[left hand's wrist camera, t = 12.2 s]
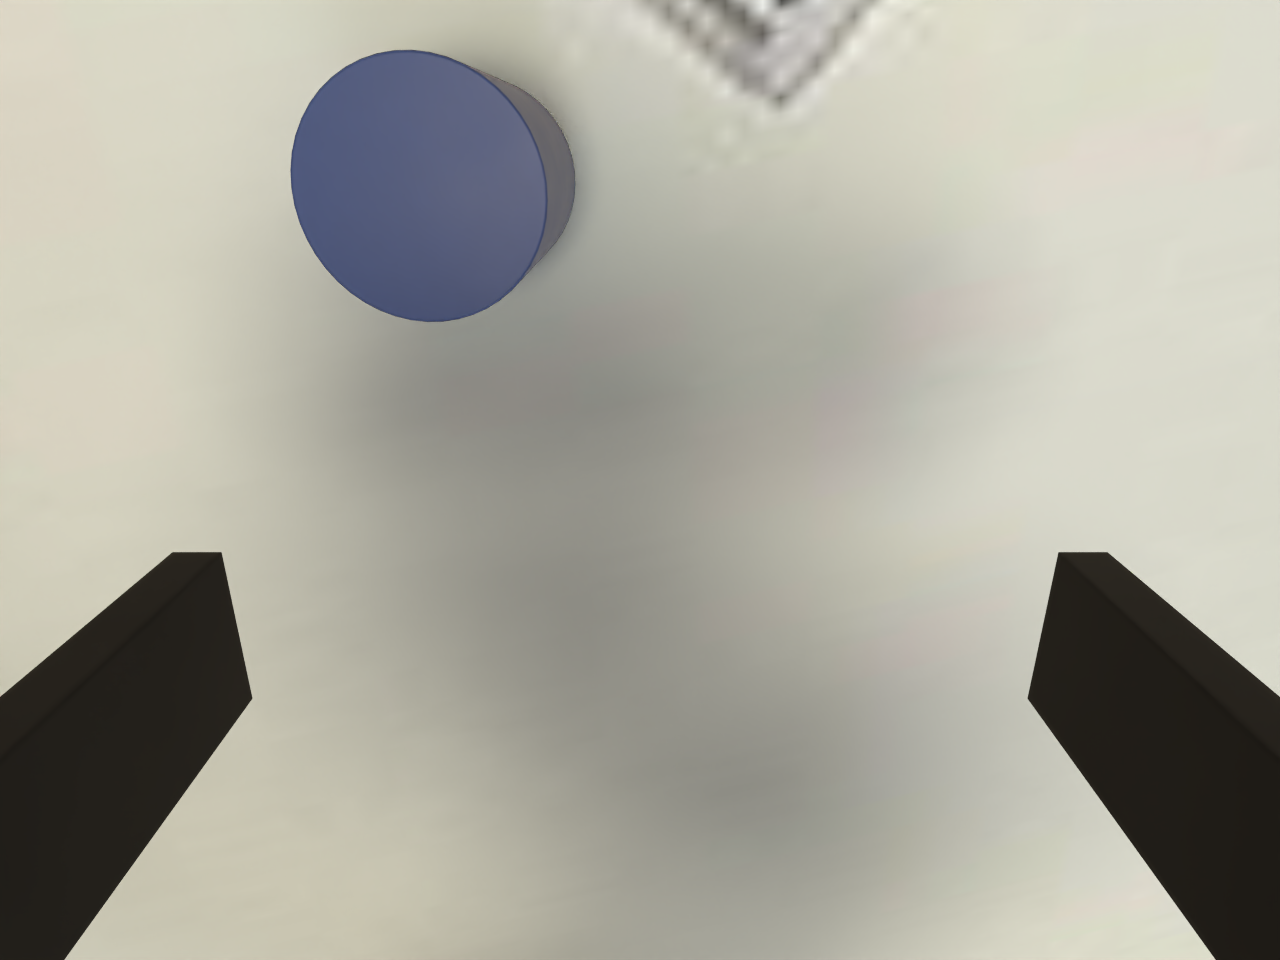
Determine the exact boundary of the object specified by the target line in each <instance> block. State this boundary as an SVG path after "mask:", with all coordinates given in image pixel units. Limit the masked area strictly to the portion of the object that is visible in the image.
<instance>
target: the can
mask: <svg viewBox="0 0 1280 960" xmlns="http://www.w3.org/2000/svg"><path fill="white" fill-rule="evenodd" d="M291 188H292V194H293V199H294V205H295V209H296V212H297V215H298V219H299V222H300V225H301V227H302V229H303V231H304V234H305V236H306V238H307V240H308V242H309V244H310V246H311V247H312V249H313V251H314V253H315V254H316V256H317V257H318V259H319V260H320V261H321V263H322V264H323V265H324V267H325V268H326V269H327V270H328V271H329V273H330V274H331V275H332V276H333V277H334V278H335V279H336V280H337V281H338V282H339V283H340V284H341V285H342V286H343V287H345V288H346V289H347V290H348V291H349V292H350V293H352V294H353V295H355V296H356V297H358V298H359V299H361V300H362V301H363V302H365V303H367V304H369V305H371V306H373V307H374V308H376V309H378V310H380V311H383V312H386V313H388V314H391V315H393V316H397V317H401V318H405V319H409V320H415V321H424V322H443V321H450V320H456V319H461V318H464V317H467V316H471V315H474V314H476V313H478V312H480V311H483V310H485V309H487V308H489V307H490V306H492V305H493V304H495V303H496V302H498V301H500V300H501V299H502V298H503V297H504V296H506V295H507V294H508V293H509V292H510V291H512V290H513V288H514V287H515V286H516V285H517V284H518V283H519V282H520V281H521V280H522V279H523V278H524V277H525V275H526V274H527V273H528V272H529V271H530V270H531V269H532V268H533V267H534V266H535V265H536V264H537V262H538V261H539V260H540V259H541V258H542V257H543V256H544V255H545V254H546V253H547V252H548V250H549V249H550V248H551V247H552V246H553V245H554V244H555V243H556V241H557V240H558V238H559V237H560V235H561V234H562V232H563V230H564V228H565V226H566V224H567V222H568V219H569V216H570V213H571V210H572V206H573V201H574V194H575V171H574V166H573V160H572V156H571V153H570V149H569V146H568V144H567V141H566V139H565V137H564V134H563V133H562V131H561V129H560V127H559V126H558V124H557V122H556V121H555V120H554V118H553V117H552V116H551V114H550V113H549V112H548V111H547V110H546V109H545V108H544V107H543V106H542V105H541V104H540V103H539V102H538V101H537V100H536V99H535V98H533V97H532V96H531V95H529V94H528V93H527V92H525V91H523V90H521V89H520V88H518V87H516V86H514V85H512V84H509V83H507V82H505V81H502V80H500V79H498V78H496V77H493V76H491V75H489V74H486V73H484V72H482V71H479V70H477V69H475V68H472V67H470V66H468V65H466V64H463V63H461V62H458V61H456V60H454V59H451V58H449V57H446V56H443V55H439V54H435V53H431V52H425V51H417V50H393V51H387V52H382V53H376V54H373V55H371V56H368V57H365V58H362V59H359V60H358V61H356V62H354V63H352V64H350V65H348V66H346V67H345V68H343V69H342V70H340V71H339V72H338V73H336V74H335V75H334V76H332V77H331V78H330V79H329V80H328V81H327V82H326V83H325V84H324V85H323V86H322V87H321V88H320V89H319V91H318V92H317V93H316V95H315V96H314V98H313V99H312V100H311V102H310V103H309V105H308V107H307V109H306V111H305V113H304V115H303V116H302V118H301V121H300V124H299V127H298V129H297V132H296V135H295V140H294V145H293V150H292V158H291Z"/></svg>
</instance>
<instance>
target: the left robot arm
mask: <svg viewBox="0 0 1280 960" xmlns="http://www.w3.org/2000/svg"><path fill="white" fill-rule="evenodd" d="M251 700H252V694H251V690H250V685H249V680H248V676H247V671H246V666H245V661H244V657H243V652H242V647H241V642H240V638H239V633H238V628H237V624H236V619H235V614H234V609H233V605H232V600H231V595H230V590H229V586H228V581H227V576H226V572H225V567H224V562H223V557H222V553H221V552H172V553H171V554H170V555H169V556H168V557H166V558H165V559H164V560H163V561H162V562H160V563H159V564H158V565H157V566H156V567H155V568H153V569H152V570H151V571H150V572H149V573H147V574H146V575H145V576H144V577H143V578H141V579H140V580H139V581H138V582H137V583H135V584H134V585H133V586H132V587H131V588H130V589H128V590H127V591H126V592H125V593H124V594H122V595H121V596H120V597H119V598H118V599H116V600H115V601H114V602H113V603H112V604H110V605H109V606H108V607H107V608H106V609H104V610H103V611H102V612H101V613H100V614H99V615H97V616H96V617H95V618H94V619H93V620H91V621H90V622H89V623H88V624H87V625H85V626H84V627H83V628H82V629H81V630H79V631H78V632H77V633H76V634H75V635H73V636H72V637H71V638H70V639H69V640H68V641H66V642H65V643H64V644H63V645H62V646H60V647H59V648H58V649H57V650H56V651H54V652H53V653H52V654H51V655H50V656H48V657H47V658H46V659H45V660H44V661H42V662H41V663H40V664H39V665H38V666H37V667H35V668H34V669H33V670H32V671H31V672H29V673H28V674H27V675H26V676H25V677H23V678H22V679H21V680H20V681H19V682H17V683H16V684H15V685H14V686H13V687H12V688H10V689H9V690H8V691H7V692H6V693H4V694H3V695H2V696H1V697H0V960H64V959H65V958H66V957H67V955H68V954H69V952H70V951H71V950H72V948H73V947H74V945H75V944H76V943H77V941H78V940H79V939H80V937H81V936H82V934H83V933H84V932H85V930H86V929H87V927H88V926H89V925H90V923H91V922H92V920H93V919H94V918H95V916H96V915H97V914H98V912H99V911H100V909H101V908H102V907H103V905H104V904H105V902H106V901H107V900H108V898H109V897H110V895H111V894H112V893H113V891H114V890H115V889H116V887H117V886H118V884H119V883H120V882H121V880H122V879H123V877H124V876H125V875H126V873H127V872H128V870H129V869H130V868H131V866H132V865H133V864H134V862H135V861H136V859H137V858H138V857H139V855H140V854H141V852H142V851H143V850H144V848H145V847H146V845H147V844H148V843H149V841H150V840H151V839H152V837H153V836H154V834H155V833H156V832H157V830H158V829H159V827H160V826H161V825H162V823H163V822H164V820H165V819H166V818H167V816H168V815H169V814H170V812H171V811H172V809H173V808H174V807H175V805H176V804H177V802H178V801H179V800H180V798H181V797H182V795H183V794H184V793H185V791H186V790H187V789H188V787H189V786H190V784H191V783H192V782H193V780H194V779H195V777H196V776H197V775H198V773H199V772H200V770H201V769H202V768H203V766H204V765H205V764H206V762H207V761H208V759H209V758H210V757H211V755H212V754H213V752H214V751H215V750H216V748H217V747H218V746H219V744H220V743H221V741H222V740H223V739H224V737H225V736H226V734H227V733H228V732H229V730H230V729H231V727H232V726H233V725H234V723H235V722H236V721H237V719H238V718H239V716H240V715H241V714H242V712H243V711H244V709H245V708H246V707H247V705H248V704H249V702H250V701H251ZM1028 700H1029V701H1030V702H1031V704H1032V705H1033V707H1034V708H1035V709H1036V711H1037V712H1038V714H1039V715H1040V716H1041V718H1042V719H1043V721H1044V722H1045V723H1046V725H1047V726H1048V727H1049V729H1050V730H1051V732H1052V733H1053V734H1054V736H1055V737H1056V739H1057V740H1058V741H1059V743H1060V744H1061V746H1062V747H1063V748H1064V750H1065V751H1066V752H1067V754H1068V755H1069V757H1070V758H1071V759H1072V761H1073V762H1074V764H1075V765H1076V766H1077V768H1078V769H1079V770H1080V772H1081V773H1082V775H1083V776H1084V777H1085V779H1086V780H1087V782H1088V783H1089V784H1090V786H1091V787H1092V789H1093V790H1094V791H1095V793H1096V794H1097V795H1098V797H1099V798H1100V800H1101V801H1102V802H1103V804H1104V805H1105V807H1106V808H1107V809H1108V811H1109V812H1110V814H1111V815H1112V816H1113V818H1114V819H1115V820H1116V822H1117V823H1118V825H1119V826H1120V827H1121V829H1122V830H1123V832H1124V833H1125V834H1126V836H1127V837H1128V839H1129V840H1130V841H1131V843H1132V844H1133V845H1134V847H1135V848H1136V850H1137V851H1138V852H1139V854H1140V855H1141V857H1142V858H1143V859H1144V861H1145V862H1146V864H1147V865H1148V866H1149V868H1150V869H1151V870H1152V872H1153V873H1154V875H1155V876H1156V877H1157V879H1158V880H1159V882H1160V883H1161V884H1162V886H1163V887H1164V889H1165V890H1166V891H1167V893H1168V894H1169V895H1170V897H1171V898H1172V900H1173V901H1174V902H1175V904H1176V905H1177V907H1178V908H1179V909H1180V911H1181V912H1182V914H1183V915H1184V916H1185V918H1186V919H1187V920H1188V922H1189V923H1190V925H1191V926H1192V927H1193V929H1194V930H1195V932H1196V933H1197V934H1198V936H1199V937H1200V939H1201V940H1202V941H1203V943H1204V944H1205V945H1206V947H1207V948H1208V950H1209V951H1210V952H1211V954H1212V955H1213V957H1214V958H1215V959H1216V960H1280V697H1279V696H1278V695H1277V694H1276V693H1274V692H1273V691H1272V690H1271V689H1270V688H1268V687H1267V686H1266V685H1265V684H1264V683H1263V682H1261V681H1260V680H1259V679H1258V678H1257V677H1255V676H1254V675H1253V674H1252V673H1251V672H1249V671H1248V670H1247V669H1246V668H1245V667H1243V666H1242V665H1241V664H1240V663H1239V662H1238V661H1236V660H1235V659H1234V658H1233V657H1232V656H1230V655H1229V654H1228V653H1227V652H1226V651H1224V650H1223V649H1222V648H1221V647H1220V646H1218V645H1217V644H1216V643H1215V642H1214V641H1212V640H1211V639H1210V638H1209V637H1208V636H1207V635H1205V634H1204V633H1203V632H1202V631H1201V630H1199V629H1198V628H1197V627H1196V626H1195V625H1193V624H1192V623H1191V622H1190V621H1189V620H1187V619H1186V618H1185V617H1184V616H1183V615H1181V614H1180V613H1179V612H1178V611H1177V610H1176V609H1174V608H1173V607H1172V606H1171V605H1170V604H1168V603H1167V602H1166V601H1165V600H1164V599H1162V598H1161V597H1160V596H1159V595H1158V594H1156V593H1155V592H1154V591H1153V590H1152V589H1150V588H1149V587H1148V586H1147V585H1146V584H1145V583H1143V582H1142V581H1141V580H1140V579H1139V578H1137V577H1136V576H1135V575H1134V574H1133V573H1131V572H1130V571H1129V570H1128V569H1127V568H1125V567H1124V566H1123V565H1122V564H1121V563H1120V562H1118V561H1117V560H1116V559H1115V558H1114V557H1112V556H1111V555H1110V554H1109V553H1108V552H1059V553H1058V557H1057V562H1056V567H1055V572H1054V576H1053V581H1052V586H1051V590H1050V595H1049V600H1048V605H1047V609H1046V614H1045V619H1044V624H1043V628H1042V633H1041V638H1040V642H1039V647H1038V652H1037V657H1036V661H1035V666H1034V671H1033V676H1032V680H1031V685H1030V690H1029V694H1028Z"/></svg>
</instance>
